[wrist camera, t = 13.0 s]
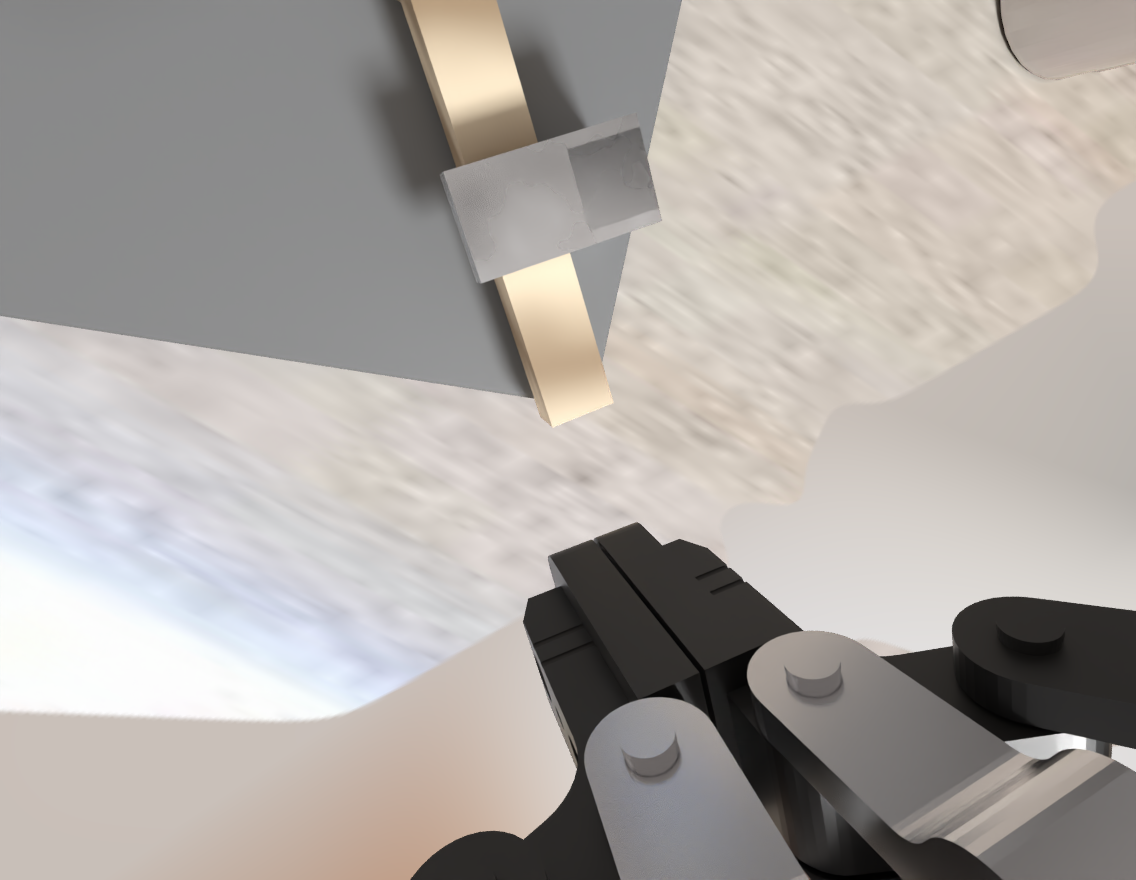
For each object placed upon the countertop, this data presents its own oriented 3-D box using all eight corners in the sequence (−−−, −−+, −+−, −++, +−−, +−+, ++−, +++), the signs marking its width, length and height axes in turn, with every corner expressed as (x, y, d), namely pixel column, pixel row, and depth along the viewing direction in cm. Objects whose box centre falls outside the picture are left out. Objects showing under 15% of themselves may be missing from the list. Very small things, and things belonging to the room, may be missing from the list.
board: (684, -59, 29) (759, -128, 24) (584, 402, 33) (628, 430, 28) (-99, -407, 20) (-266, -651, 14) (-97, 295, 24) (-223, 308, 19)
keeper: (428, 184, 27) (443, 171, 23) (592, 133, 29) (636, 112, 24) (461, 278, 29) (481, 283, 24) (616, 225, 30) (661, 220, 26)
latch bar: (339, -115, 23) (337, -155, 21) (455, -139, 24) (466, -182, 22) (524, 420, 31) (539, 434, 29) (608, 387, 32) (629, 398, 29)
